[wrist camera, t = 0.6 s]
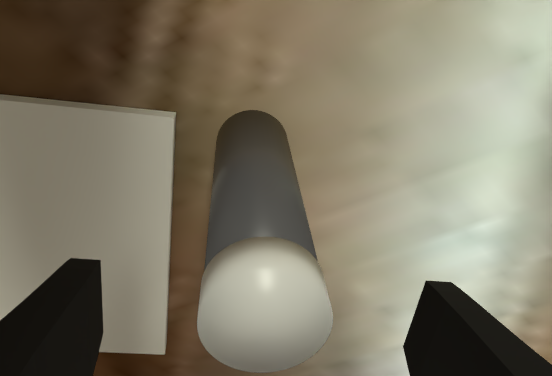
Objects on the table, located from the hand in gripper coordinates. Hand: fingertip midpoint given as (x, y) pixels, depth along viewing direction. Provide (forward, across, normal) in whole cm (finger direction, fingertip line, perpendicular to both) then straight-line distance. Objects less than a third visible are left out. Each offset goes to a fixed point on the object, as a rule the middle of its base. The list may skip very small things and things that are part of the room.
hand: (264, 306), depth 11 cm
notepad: (+9, +8, +5) cm, 13 cm away
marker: (+9, 0, 0) cm, 9 cm away
